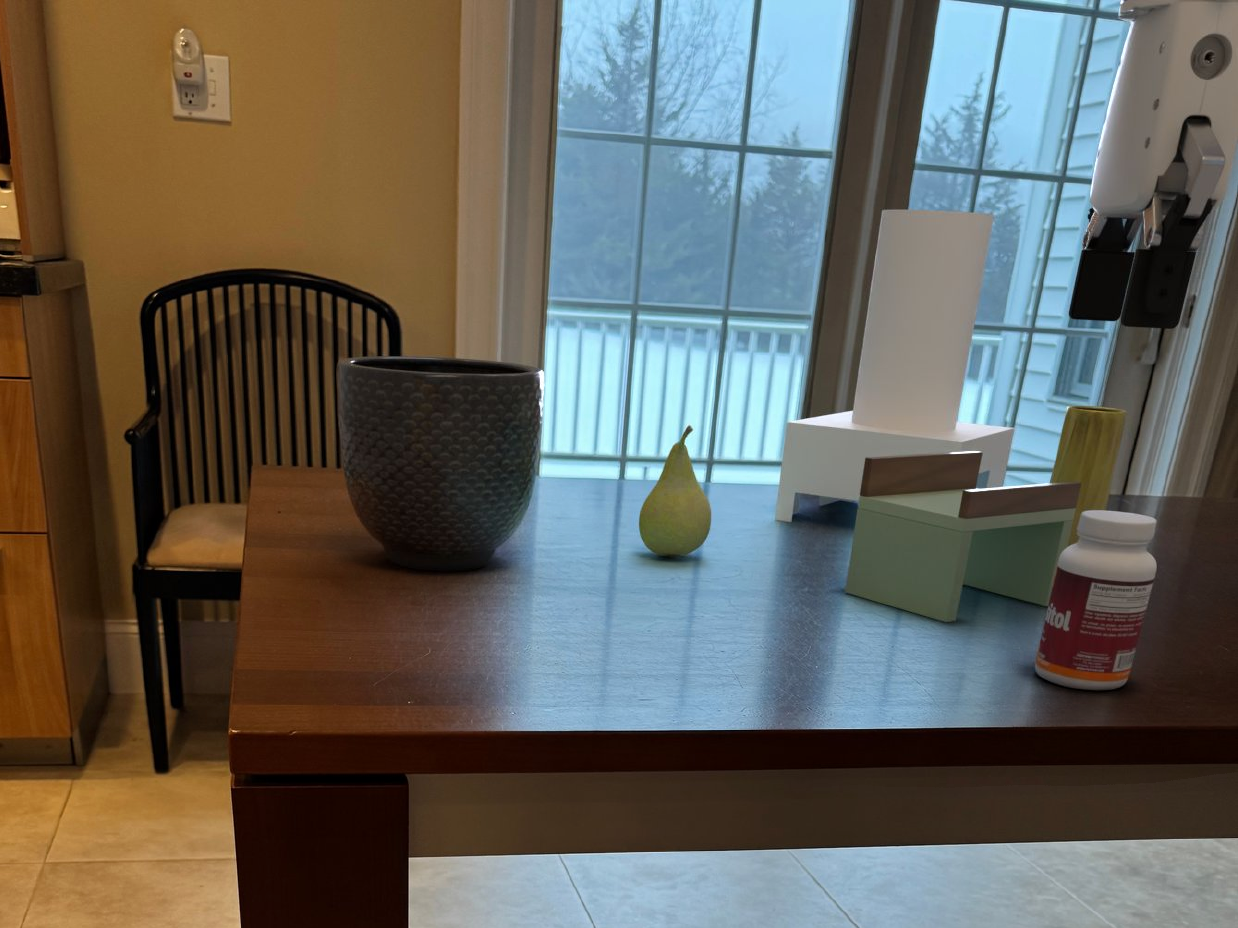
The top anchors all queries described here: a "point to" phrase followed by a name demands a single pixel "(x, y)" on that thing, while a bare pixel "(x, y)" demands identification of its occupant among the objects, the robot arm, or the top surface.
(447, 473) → the planter
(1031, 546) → the stand
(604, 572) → the top surface
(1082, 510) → the vase
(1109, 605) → the pill bottle
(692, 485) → the fruit
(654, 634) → the top surface
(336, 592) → the top surface
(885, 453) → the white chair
